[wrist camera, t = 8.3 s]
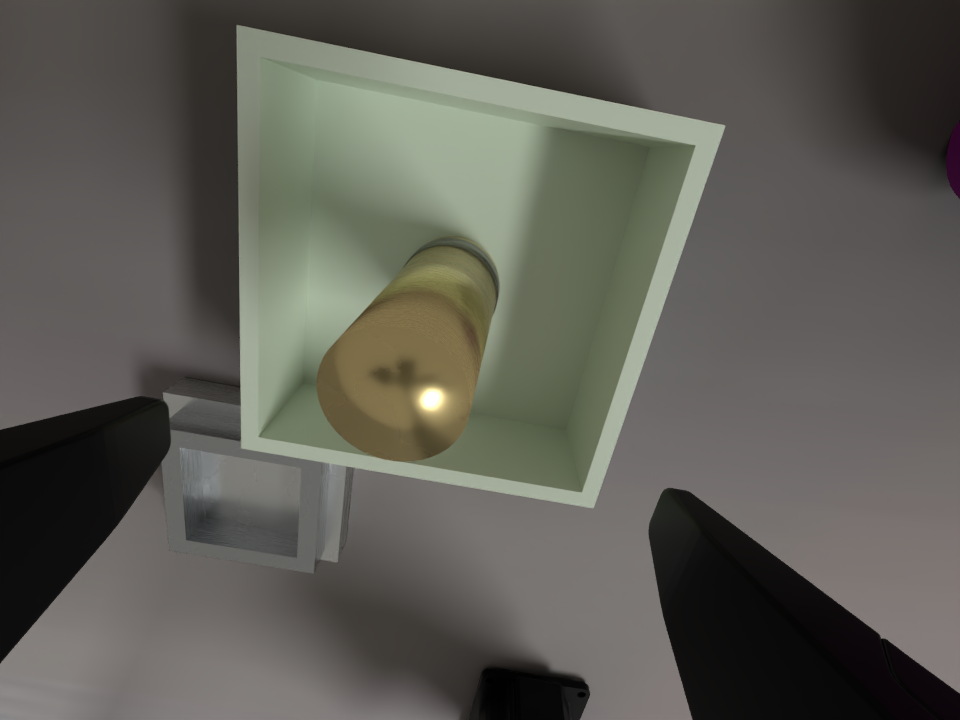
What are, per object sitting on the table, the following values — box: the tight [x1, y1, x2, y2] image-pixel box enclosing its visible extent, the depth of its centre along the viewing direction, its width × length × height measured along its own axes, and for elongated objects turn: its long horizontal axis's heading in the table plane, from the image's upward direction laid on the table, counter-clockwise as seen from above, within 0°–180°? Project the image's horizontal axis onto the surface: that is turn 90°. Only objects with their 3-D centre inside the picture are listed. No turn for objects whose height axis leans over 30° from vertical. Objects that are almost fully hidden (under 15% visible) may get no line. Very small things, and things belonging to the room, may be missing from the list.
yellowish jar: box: [316, 236, 500, 462], centre depth 15 cm, size 4×4×9 cm
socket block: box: [161, 378, 353, 574], centre depth 22 cm, size 8×8×3 cm
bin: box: [237, 25, 725, 508], centre depth 18 cm, size 13×13×5 cm
